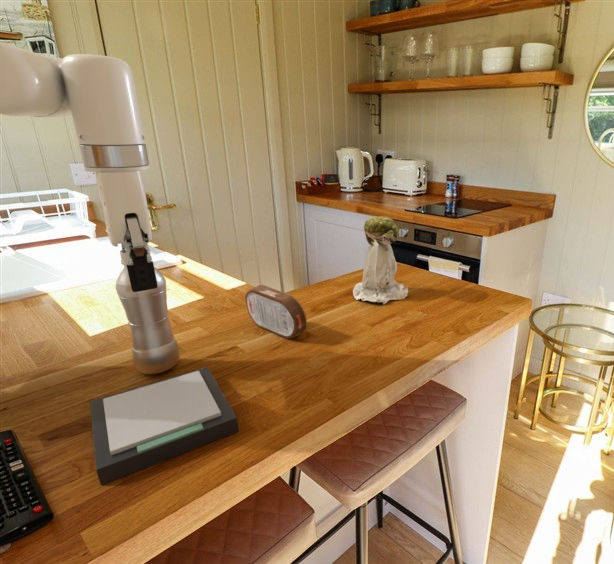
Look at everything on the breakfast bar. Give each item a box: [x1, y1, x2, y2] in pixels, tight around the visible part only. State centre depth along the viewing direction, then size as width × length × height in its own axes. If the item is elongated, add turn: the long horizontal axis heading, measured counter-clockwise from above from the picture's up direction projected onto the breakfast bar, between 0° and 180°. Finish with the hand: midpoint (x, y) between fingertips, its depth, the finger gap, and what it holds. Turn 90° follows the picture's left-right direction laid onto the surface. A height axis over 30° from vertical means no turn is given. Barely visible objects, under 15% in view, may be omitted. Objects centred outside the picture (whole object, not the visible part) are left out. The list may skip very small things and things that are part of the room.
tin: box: [244, 284, 307, 340], centre depth 80 cm, size 15×3×8 cm, turn 54°
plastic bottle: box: [115, 248, 181, 375], centre depth 65 cm, size 6×7×20 cm
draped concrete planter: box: [352, 215, 409, 305], centre depth 97 cm, size 12×13×18 cm
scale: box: [89, 366, 239, 486], centre depth 56 cm, size 15×15×3 cm
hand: (141, 281), depth 63 cm, fingers closed on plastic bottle, 6 cm apart
